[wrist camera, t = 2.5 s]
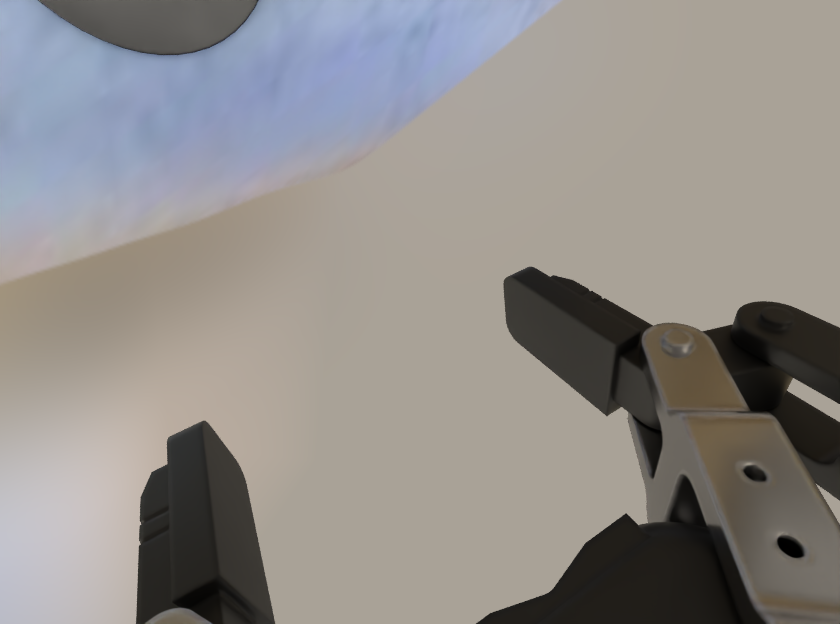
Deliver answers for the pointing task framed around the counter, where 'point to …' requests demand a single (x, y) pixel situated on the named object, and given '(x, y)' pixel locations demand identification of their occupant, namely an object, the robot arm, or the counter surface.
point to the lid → (156, 22)
